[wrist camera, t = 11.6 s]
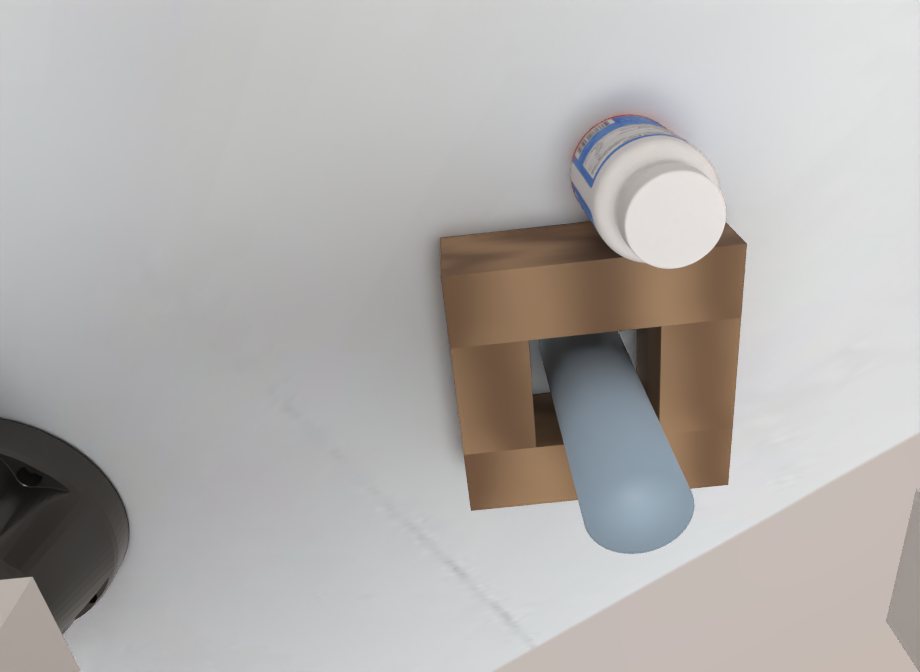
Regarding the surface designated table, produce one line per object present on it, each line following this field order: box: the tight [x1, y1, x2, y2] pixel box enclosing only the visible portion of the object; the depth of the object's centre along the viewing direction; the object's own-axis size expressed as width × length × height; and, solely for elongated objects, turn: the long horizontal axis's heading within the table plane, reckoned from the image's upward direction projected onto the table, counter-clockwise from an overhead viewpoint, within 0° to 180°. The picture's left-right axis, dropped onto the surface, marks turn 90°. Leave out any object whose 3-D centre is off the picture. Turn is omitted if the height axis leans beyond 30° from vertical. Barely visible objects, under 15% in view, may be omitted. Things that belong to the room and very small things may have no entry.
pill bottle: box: [570, 115, 726, 269], centre depth 34 cm, size 6×5×10 cm
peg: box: [540, 331, 694, 554], centre depth 36 cm, size 4×4×14 cm
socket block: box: [440, 221, 747, 511], centre depth 40 cm, size 14×14×5 cm
